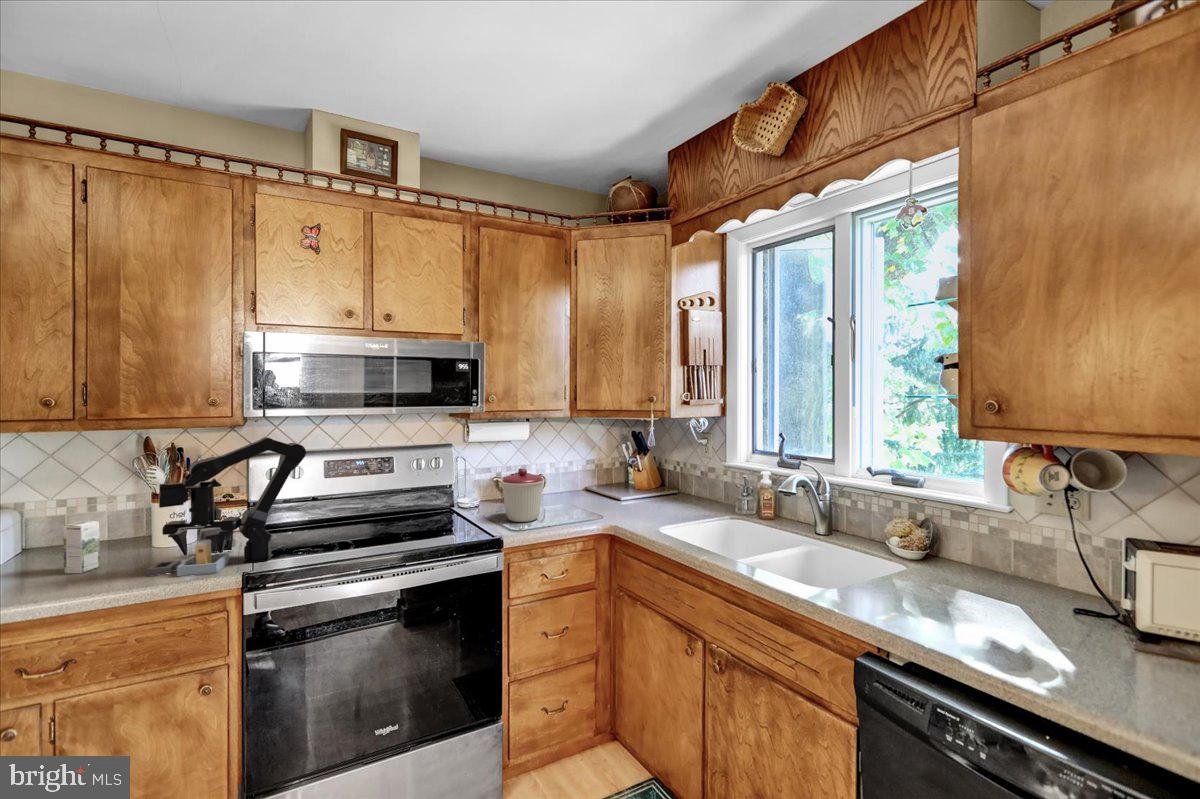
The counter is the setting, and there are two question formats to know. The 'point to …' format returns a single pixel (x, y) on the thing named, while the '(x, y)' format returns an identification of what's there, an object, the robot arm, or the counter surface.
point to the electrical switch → (215, 538)
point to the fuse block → (163, 567)
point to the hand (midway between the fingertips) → (203, 553)
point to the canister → (522, 496)
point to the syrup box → (81, 546)
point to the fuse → (203, 552)
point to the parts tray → (202, 566)
